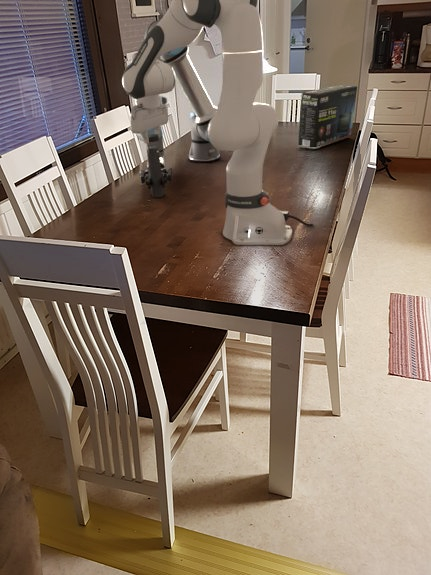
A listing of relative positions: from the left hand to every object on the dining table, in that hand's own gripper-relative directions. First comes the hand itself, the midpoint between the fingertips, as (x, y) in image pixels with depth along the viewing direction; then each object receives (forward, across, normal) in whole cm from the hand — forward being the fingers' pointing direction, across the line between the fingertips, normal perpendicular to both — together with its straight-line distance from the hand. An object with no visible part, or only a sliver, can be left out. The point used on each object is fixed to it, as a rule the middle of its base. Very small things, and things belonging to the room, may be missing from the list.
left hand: (156, 185), depth 176 cm
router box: (-69, -89, -6) cm, 113 cm away
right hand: (-5, 0, +15) cm, 16 cm away
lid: (-5, 0, +17) cm, 18 cm away
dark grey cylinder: (-5, 0, -6) cm, 8 cm away
